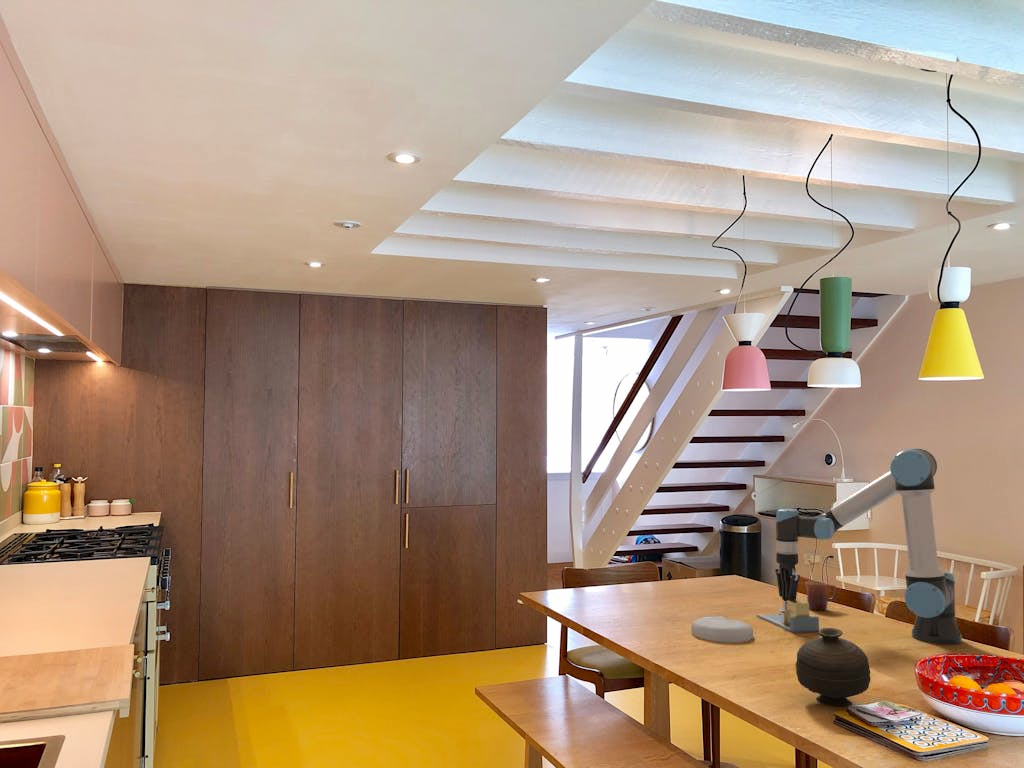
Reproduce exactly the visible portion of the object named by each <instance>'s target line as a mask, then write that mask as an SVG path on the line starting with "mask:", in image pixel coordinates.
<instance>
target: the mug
mask: <svg viewBox="0 0 1024 768" xmlns="http://www.w3.org/2000/svg"><path fill="white" fill-rule="evenodd" d="M804 583H805V586H806V593H807V595H806V596H807V597H806V602H808V603H809V610H810V609H812V610H811V611H814V610H818V611H817V612H823V610H824V611H826V610H827V609H828V603H829V602H831V601H832V602H833V601H834V600H835V598H837V596H838V595H837V594H838V588H837V587H836V585H833V584H829V583H828V582H826V581H821V580H820V581H817V580H808V581H805V582H804ZM831 588H833V589H834V590H833V591H834V593H833V596H832V597H828V590H829V589H831Z"/></svg>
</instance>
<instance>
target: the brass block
mask: <svg viewBox="0 0 1024 768" xmlns="http://www.w3.org/2000/svg"><path fill="white" fill-rule="evenodd" d="M799 616H810V609H809V603H808V602H807V601H806V600H802V599H799V598H798V599H797V598H796V600H787V626H789V627H790V617H799Z"/></svg>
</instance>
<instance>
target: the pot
mask: <svg viewBox="0 0 1024 768" xmlns="http://www.w3.org/2000/svg"><path fill="white" fill-rule="evenodd" d="M817 635H819V636H820V637H816V638H812V639H811V640H808V641H806V642H805V643H804V644H802V646H800V647H799V648H798V651H797V652H796V661H795V664H794V666H795V673H796V676H797V680H798V683H799V684H800V685H801V686H802V687H804V688H806V689H808V691H809V692H812V693H814V694H818V696H817V697H816V698H815V700H816V701H817V702H818V703H820V704H821V705H822V704H823V705H824V706H830V707H839V708H845V707H850V706H849V705H851V706H852V705H853V702H852V701H851V700H849V698H850V697H856V696H859V695H860V694H863V693H864V692H866V691H867V690H868V689H869V687H870V682H871V669H870V664H869V658H868V656H867V654H866V653H865V651H864V650H863V649H862V648H860V646H859V645H856V644H855V643H854V642H852V641H850V640H847V639H845V638H841V637H842V635H843V630H841V629H838V628H836V627H834V628H833V627H823V628H821V629H819V632H817Z"/></svg>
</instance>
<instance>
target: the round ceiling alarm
mask: <svg viewBox="0 0 1024 768" xmlns="http://www.w3.org/2000/svg"><path fill="white" fill-rule="evenodd" d="M691 634H692V636H693V637H696V638H698V637H699V639H700V640H701V639H702V640H705V639H706V641H710V640H711V641H712V642H717V641H718V642H719V643H720V642H721V643H744V642H743V641H746V642H749V640H750V641H752V640H753V639H754V628H753V627H752V626H751V625H750V624H748V623H747V622H743V621H741V620H735V619H729V618H726V617H725V616H719V615H718V616H713V615H712V616H705V617H704V616H703V617H699V618H698V619H697V618H696V619H695V620H694V621H693V622H692V624H691ZM751 639H752V640H751Z"/></svg>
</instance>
